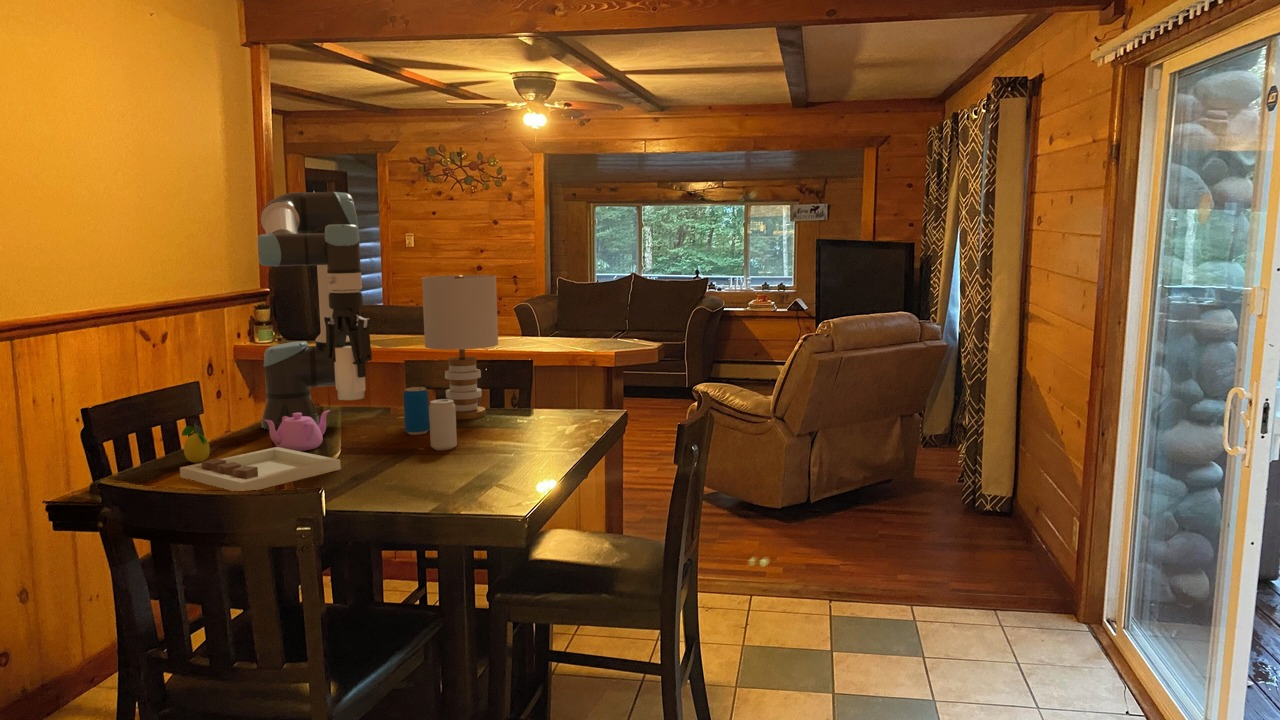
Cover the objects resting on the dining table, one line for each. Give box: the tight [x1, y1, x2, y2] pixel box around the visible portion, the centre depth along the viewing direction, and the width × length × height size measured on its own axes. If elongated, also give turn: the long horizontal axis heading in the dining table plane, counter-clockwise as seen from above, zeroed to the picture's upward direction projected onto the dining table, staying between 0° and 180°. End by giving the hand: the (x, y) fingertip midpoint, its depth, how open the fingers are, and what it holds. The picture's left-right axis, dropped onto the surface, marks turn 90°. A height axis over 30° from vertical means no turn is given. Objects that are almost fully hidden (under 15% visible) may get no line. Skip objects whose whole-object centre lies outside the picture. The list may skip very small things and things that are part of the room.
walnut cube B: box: [217, 462, 241, 476], centre depth 208 cm, size 4×4×4 cm
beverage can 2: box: [429, 398, 458, 451], centre depth 239 cm, size 6×6×12 cm
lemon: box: [181, 423, 211, 464], centre depth 225 cm, size 7×6×10 cm
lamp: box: [421, 274, 499, 421], centre depth 280 cm, size 21×21×41 cm
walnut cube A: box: [200, 458, 226, 473], centre depth 211 cm, size 4×4×4 cm
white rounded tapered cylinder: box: [335, 346, 365, 401], centre depth 226 cm, size 6×6×12 cm
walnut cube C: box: [232, 466, 258, 480], centre depth 204 cm, size 4×4×4 cm
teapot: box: [263, 409, 331, 452], centre depth 243 cm, size 12×14×9 cm
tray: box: [179, 446, 342, 492], centre depth 214 cm, size 24×24×3 cm
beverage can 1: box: [403, 386, 430, 436], centre depth 258 cm, size 6×6×12 cm
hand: (350, 389), depth 226 cm, fingers closed on white rounded tapered cylinder, 6 cm apart
